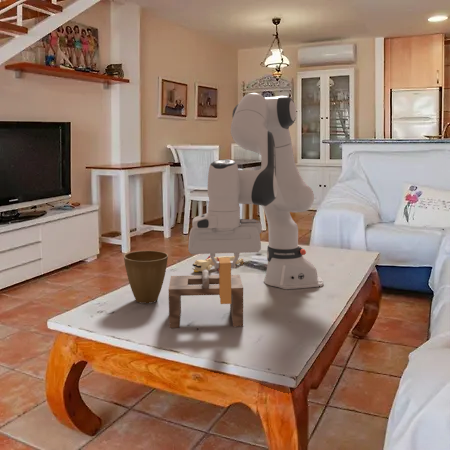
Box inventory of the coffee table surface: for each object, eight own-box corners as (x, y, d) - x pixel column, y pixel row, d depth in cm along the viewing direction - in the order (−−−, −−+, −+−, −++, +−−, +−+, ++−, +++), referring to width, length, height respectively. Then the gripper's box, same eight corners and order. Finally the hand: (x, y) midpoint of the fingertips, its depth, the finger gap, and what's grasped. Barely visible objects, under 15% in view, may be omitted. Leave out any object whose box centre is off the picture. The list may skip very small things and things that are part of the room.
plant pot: (131, 310, 168) (129, 262, 166) (121, 296, 182) (119, 252, 179) (174, 303, 174) (173, 257, 171) (161, 291, 188) (160, 248, 185)
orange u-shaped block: (219, 296, 149) (218, 258, 147) (229, 295, 150) (229, 257, 147) (220, 304, 143) (219, 264, 140) (231, 303, 143) (230, 264, 141)
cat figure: (232, 264, 230) (186, 269, 215) (233, 245, 229) (187, 248, 214) (246, 268, 223) (200, 274, 207) (248, 249, 222) (201, 253, 206)
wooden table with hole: (239, 310, 168) (239, 268, 165) (243, 326, 154) (243, 281, 152) (171, 311, 167) (170, 269, 164) (169, 328, 153) (168, 282, 150)
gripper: (260, 216, 145) (260, 264, 148) (187, 218, 144) (189, 266, 147) (263, 220, 139) (263, 270, 142) (187, 222, 138) (188, 272, 141)
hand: (224, 268), depth 144 cm, fingers closed on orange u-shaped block, 3 cm apart
